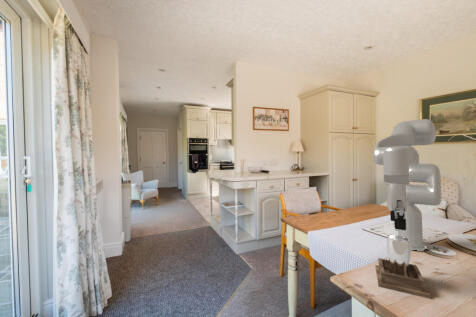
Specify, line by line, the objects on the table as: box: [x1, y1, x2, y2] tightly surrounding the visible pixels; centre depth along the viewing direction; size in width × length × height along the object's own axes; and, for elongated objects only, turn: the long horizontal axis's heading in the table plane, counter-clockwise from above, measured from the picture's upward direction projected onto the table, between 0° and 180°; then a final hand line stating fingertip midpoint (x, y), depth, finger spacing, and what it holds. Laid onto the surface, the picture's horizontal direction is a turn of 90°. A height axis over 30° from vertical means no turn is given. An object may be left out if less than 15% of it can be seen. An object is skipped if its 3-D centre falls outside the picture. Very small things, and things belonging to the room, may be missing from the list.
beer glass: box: [386, 234, 412, 277], centre depth 76 cm, size 7×7×15 cm
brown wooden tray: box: [375, 257, 432, 300], centre depth 75 cm, size 14×14×5 cm
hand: (397, 225), depth 76 cm, fingers open, 9 cm apart
